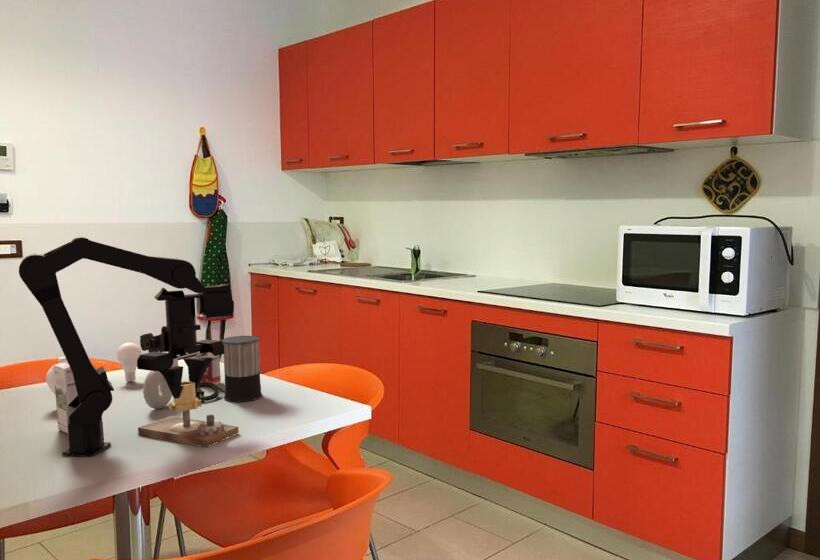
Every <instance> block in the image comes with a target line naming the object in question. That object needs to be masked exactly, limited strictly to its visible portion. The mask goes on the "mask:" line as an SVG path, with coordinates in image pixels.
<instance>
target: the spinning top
mask: <svg viewBox="0 0 820 560" xmlns="http://www.w3.org/2000/svg"><path fill="white" fill-rule="evenodd" d="M57 362H58V364H60V363H64V362H67V360H66V357H65V356H60V357H58V358H57ZM45 382H46V384H47V386H48V388H49V389H50V391H51V392H52V393H53V394H54V395H55V396H56V394H55V383H54V370H53V365H52V366H51V367H50V368H49V370H48V371H47V373H46V376H45Z"/></svg>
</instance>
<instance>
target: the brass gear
mask: <svg viewBox="0 0 820 560" xmlns="http://www.w3.org/2000/svg"><path fill="white" fill-rule="evenodd" d="M199 407H202V401H201V400H198V398H196V393H195V382H193V381H189V380H188V381H187V380H183V381H181V389H180V395H179V398H178V399H175V398H173V400H172V401H170V402H169V403H168V410H171V412H183V411H187V410H190V411H191V410H197V409H199Z"/></svg>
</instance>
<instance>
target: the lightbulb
mask: <svg viewBox="0 0 820 560" xmlns="http://www.w3.org/2000/svg"><path fill="white" fill-rule="evenodd" d="M115 354H116V360H117V361H118V363H119V364H120V365H121V366H122V370H123V371H124V374H125V375H124V378H125V380H124V381H125V382H128V383H133V382H134V381H136V377H137V375H136V371H137V359H138V357H139V356H140V355H141V354H142V349H141V346H139V345H138V344H137V343H135V342H131V341H130V342H124V343H122V344H121V345H119V346H118V348H117V350H116V353H115Z"/></svg>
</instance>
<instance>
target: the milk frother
mask: <svg viewBox="0 0 820 560" xmlns="http://www.w3.org/2000/svg"><path fill="white" fill-rule="evenodd" d="M260 339H261V338H260V337H258V336H254V335H235V336H229V337H225V338H222V339H221V342H222V343H223V344H224V354H223V366H224V367H223V369H224V389H222V388H221V387H219V386H218V385H215V384H213V383H209V382H200V384H199V386H198V389H197V391H196V398H198V400H201V402H207V401H213V400H215V399H216V398H217V397H218V396H219V394H220V391H221V392H223V393H224V396H223V399H224V400H225V401H228V402H235V403H239V402H240V403H241V402H251V401H254V400H259V399H260V398H261V397H263V393H262V385H261V365H260ZM203 388H208V389H211V390H212V391H213V393H212V394H209V395H207V396H206V395H205V391H204V390H203Z"/></svg>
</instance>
